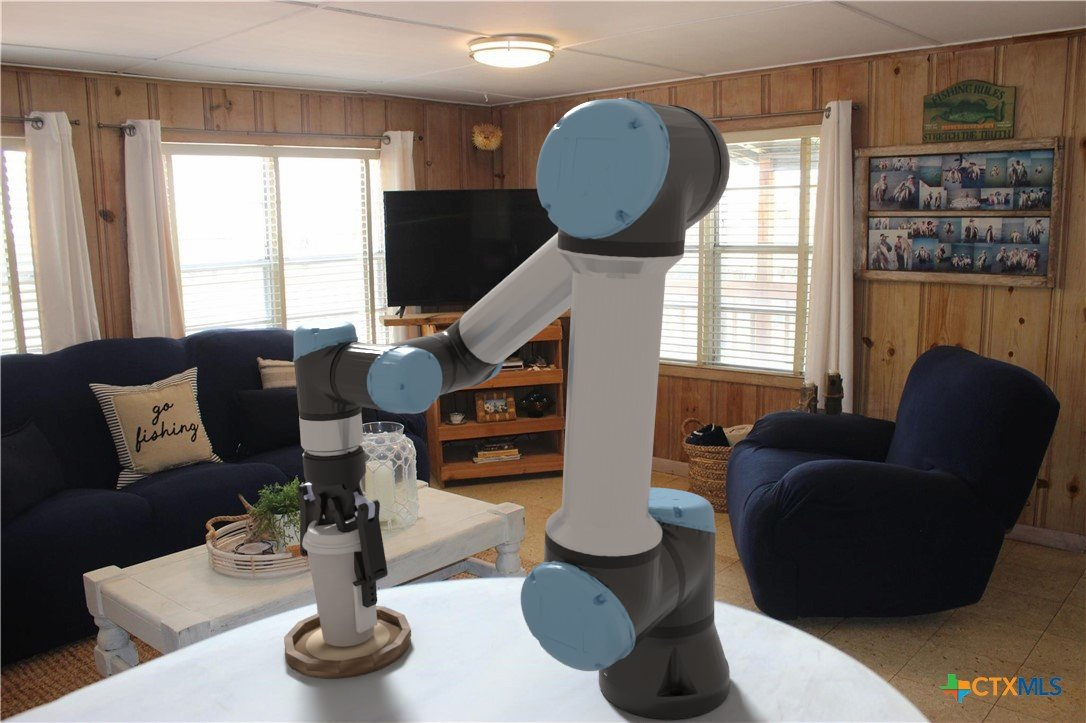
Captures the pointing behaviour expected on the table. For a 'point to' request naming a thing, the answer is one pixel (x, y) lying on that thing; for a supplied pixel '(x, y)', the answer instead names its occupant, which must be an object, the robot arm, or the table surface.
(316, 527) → the coffee cup
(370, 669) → the polygonal wooden dish
